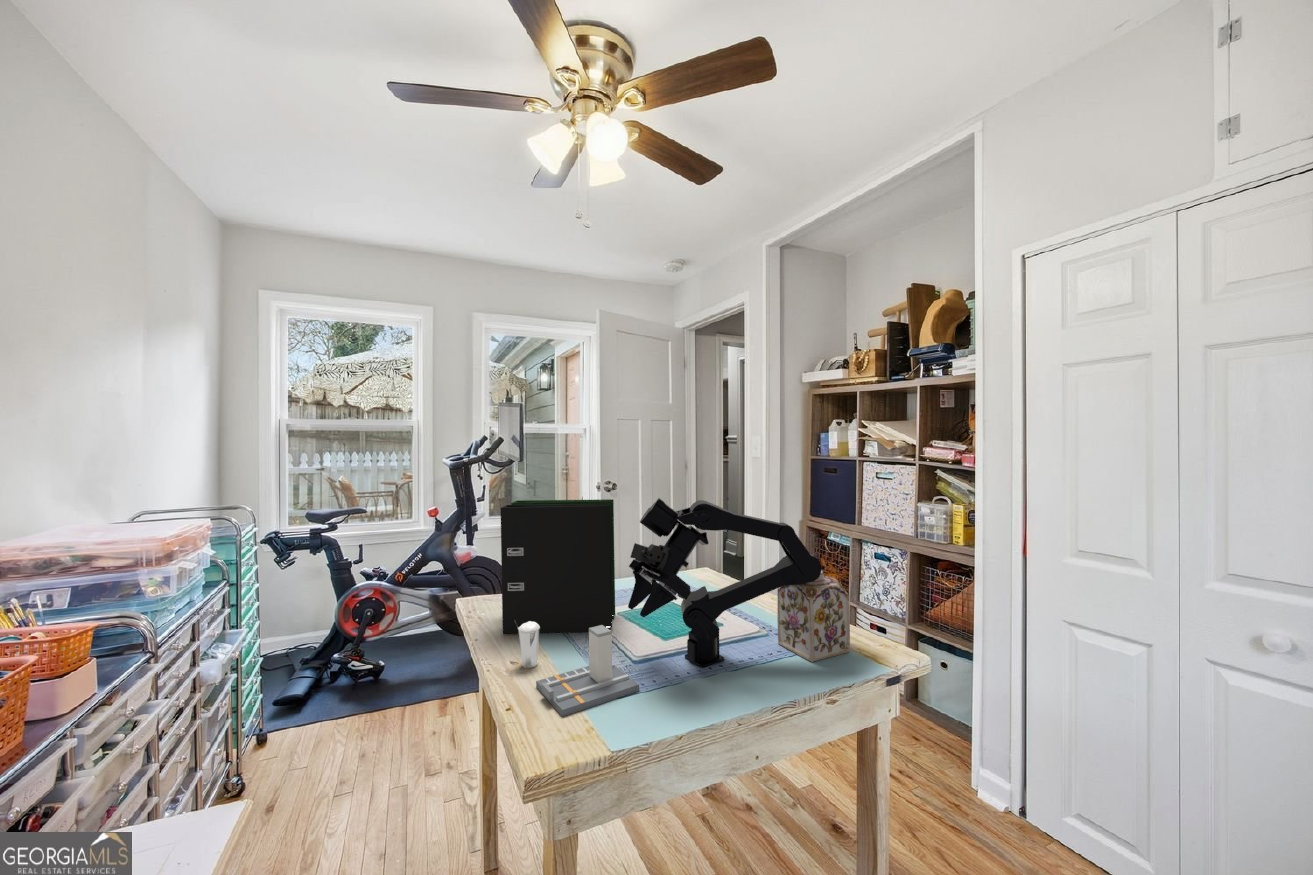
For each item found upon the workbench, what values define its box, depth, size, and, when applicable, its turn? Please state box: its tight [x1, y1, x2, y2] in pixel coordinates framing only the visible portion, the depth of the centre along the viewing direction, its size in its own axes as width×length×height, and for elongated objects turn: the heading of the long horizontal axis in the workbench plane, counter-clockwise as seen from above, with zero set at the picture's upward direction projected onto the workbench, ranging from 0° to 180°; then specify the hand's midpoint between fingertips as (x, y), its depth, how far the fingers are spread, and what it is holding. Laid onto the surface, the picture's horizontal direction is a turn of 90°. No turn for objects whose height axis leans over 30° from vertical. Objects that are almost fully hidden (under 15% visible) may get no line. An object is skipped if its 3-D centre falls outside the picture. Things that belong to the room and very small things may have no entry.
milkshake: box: [514, 620, 540, 669], centre depth 111 cm, size 5×5×10 cm
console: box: [535, 662, 640, 717], centre depth 100 cm, size 17×13×3 cm
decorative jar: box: [776, 570, 851, 663], centre depth 118 cm, size 12×12×18 cm
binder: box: [500, 499, 616, 636], centre depth 135 cm, size 27×15×32 cm, turn 89°
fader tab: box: [588, 625, 613, 683], centre depth 102 cm, size 3×4×10 cm
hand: (635, 612), depth 107 cm, fingers open, 6 cm apart
